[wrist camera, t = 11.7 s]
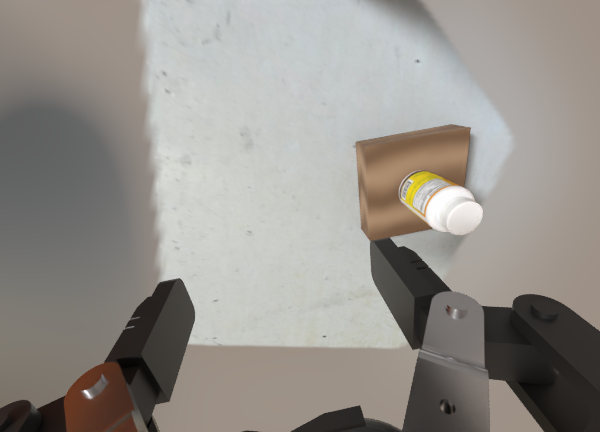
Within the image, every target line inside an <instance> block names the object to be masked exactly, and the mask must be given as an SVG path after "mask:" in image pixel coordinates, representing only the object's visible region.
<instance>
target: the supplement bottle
mask: <svg viewBox="0 0 600 432" xmlns="http://www.w3.org/2000/svg"><path fill="white" fill-rule="evenodd" d="M399 198H400V200H401V202H402V203H403V204H404V205H405V206H406V207H407V208H408V209H410V210H411V211H412V212H413V213H415V214H416V215H417V216H418V217H420V218H421V219H422V220H423V221H425V222H426V223H427V224H428V225H429V226H431V227H432V228H433V229H435V230H437V231H441V232H451V233H452V234H454V235H465V234H468V233H470V232H472V231H473V230H474V229H475V228H476V227H477V226H478V225H479V224H480V222H481V220H482V217H483V209H482V207H481V206H480V205H479V204H478V203H477V202H475V199H474V197H473V195H472V193H471V192H470V191H469V190H467V189H466V188H464V187H462V186H460V185H458V184H455V183H453V182H451V181H449V180H447V179H445V178H442V177H440V176H438V175H436V174H434V173H432V172H430V171H426V170H418V171H415V172H412V173H410V174H409V175H408V176H406V177H405V178H404V180H403V181H402V183H401V185H400V187H399Z"/></svg>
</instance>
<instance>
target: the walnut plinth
mask: <svg viewBox="0 0 600 432" xmlns="http://www.w3.org/2000/svg"><path fill="white" fill-rule="evenodd" d="M470 129H471V128H470V127H464V126H458V125H452V124H451V125H445V126H440V127H435V128H429V129H424V130H418V131H413V132H407V133H402V134H396V135H391V136H386V137H380V138H375V139H369V140H364V141H358V142H356V154H357V169H358V184H359V199H360V214H361V229H362V230H363V232H364V233H365V235H366V236H367V237H368V239H369V240H370V241H372V240H377V239H382V238H387V237H393V236H398V235H403V234H408V233H413V232H418V231H423V230H428V229H433V228H432V227H431V226H429V225H428V224H427V223H426V222H425V221H423V220H422V219H421V218H420V217H418V216H417V215H416V214H415V213H413V212H412V211H411V210H410V209H408V208H407V207H406V206H405V205H404V204H403V203H402V202H401V200H400V198H399V187H400V185H401V183H402V181H403V180H404V178H405V177H406V176H408V175H409V174H410V173H412V172H415V171H418V170H426V171H430V172H432V173H434V174H436V175H438V176H440V177H442V178H445V179H447V180H449V181H451V182H453V183H455V184H458V185H460V186H462V187H464V183H465V174H466V165H467V156H468V147H469V138H470Z"/></svg>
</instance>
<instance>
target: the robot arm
mask: <svg viewBox="0 0 600 432" xmlns="http://www.w3.org/2000/svg"><path fill="white" fill-rule="evenodd" d="M370 256H371V272H372V277H373V280H374V283H375V285H376V287H377V289H378V290H379V292H380V294H381V296H382V297H383V299H384V301H385V303H386V304H387V306H388V308H389V309H390V311H391V313H392V315H393V316H394V318H395V320H396V322H397V323H398V325H399V327H400V329H401V330H402V332H403V334H404V336H405V337H406V339H407V341H408V343H409V344H410V346H411V348H412V349H413V350H414V349H419V348H420V350H419V353H418V359H417V363H416V367H415V372H414V377H413V382H412V386H411V391H410V396H409V401H408V405H407V410H406V415H405V420H404V424H403V429H402V430H400V429H398V428H396V427H394V426H392V425H391V424H388V423H385V422H382V421H379V420H375V419H369V418H364V417H363V413H362V410H361V407H360V406H355V407H351V408H347V409H342V410H338V411H333V412H328V413H324V414H322V415H320V416H319V417H317V418H315V419H313V420H311V421H309V422H307V423H306V424H304V425H302V426H300V427H298V428H296V429H295V430H293V431H291V432H490V412H489V379H494V380H503V381H506V382H507V384H508V385H509V386H510V388H511V389H512V390H513V392H514V393H515V394H516V395H517V397H518V398H519V399H520V401H521V402H522V403H523V405H524V406H525V407H526V408H527V410H528V411H529V412H530V414H531V415H532V416H533V418H534V419H535V420H536V422H537V423H538V424H539V425H540V427H541V428H542V429H543V431H544V432H600V331H599V330H597V329H596V328H595V327H593V326H592V325H591V324H589V323H588V322H587V321H585V320H584V319H583V318H581V317H580V316H579V315H577V314H576V313H575V312H574V311H572V310H571V309H570V308H568V307H567V306H565V305H564V304H562V303H560V302H558V301H556V300H554V299H551V298H548V297H545V296H541V295H534V294H526V295H521V296H518V297H517V298H515V300H514V301H513V305H512V308H508V307H487V306H481V305H480V304H479V303H478V302H477V301H476V300H474V299H473V298H471V297H469V296H467V295H465V294H462V293H458V292H452V291H451V290H450V289H449V287H447V285H446V284H445V283H444V282H443V281H442V280H441V279H440V278H439V277H438V276H437V275H436V274H435V273H434V272H433V271H432V269H431V268H429V267H428V265H427V264H426V263H425V262H424V261H422V259H421V258H420V257H419V256H418V255H417V254H416V253H415V252H414V251H412V250H410V249H408V248H406V247H404V246H403V247H397V246H396V245H395V243H394V242H393V241H392V240H391V239H390V238H389V237H387V238H382V239H377V240H372V241H371V242H370ZM194 321H195V310H194V306H193V304H192V301H191V299H190V297H189V294H188V292H187V290H186V287H185V285H184V283H183V281H182V280H181V279H180V278H178V279H173V280H168V281H163V282H160V283H159V284H158V285H157V287H156V289H155V291H154V293H153V294H152V296H151V297H147V298H146V300H144V301H143V302H142V303H141V304H140V305H139V306H138V307H137V309H136V310H135V312H134V314H133V315H132V317H131V320H130V321H129V322H128V323H127V325H126V327H125V330H123V332H122V333H121V335H120V337H119V339H118V340H117V342H116V343H115V345H114V347H113V348H112V350H111V352H110V353H109V355H108V357H107V358H106V360H105V362H104V363H103V364H100V365H97V366H95V367H93V368H92V369H90V370H88V371H87V372H85V373H84V374H83V375H82V376H80V377H79V378H78V379H77V380H76V382H74V383H73V385H72V386H71V387H70V388H69V390H68V392H67V394H66V396H64V397H61V398H59V399H57V400H55V401H53V402H51V403H49V404H46V405H44V406H42V407H40V408H38V409H36V408H35V407H34V406H33V405H32V404H31V403H30V402H29V401H27V400H20V401H16V402H13V403H10V404H8V405H6V406H4V407H2V408H1V409H0V432H160V430H159V427H158V425H157V423H156V420H155V418H154V416H153V415H152V413H153V409H154V407H155V405H156V404H160V403H165V402H169V401H170V398H171V395H172V391H173V388H174V385H175V382H176V379H177V375H178V372H179V369H180V365H181V362H182V359H183V356H184V353H185V350H186V347H187V344H188V340H189V337H190V334H191V331H192V328H193V324H194ZM243 432H257V431H243Z"/></svg>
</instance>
